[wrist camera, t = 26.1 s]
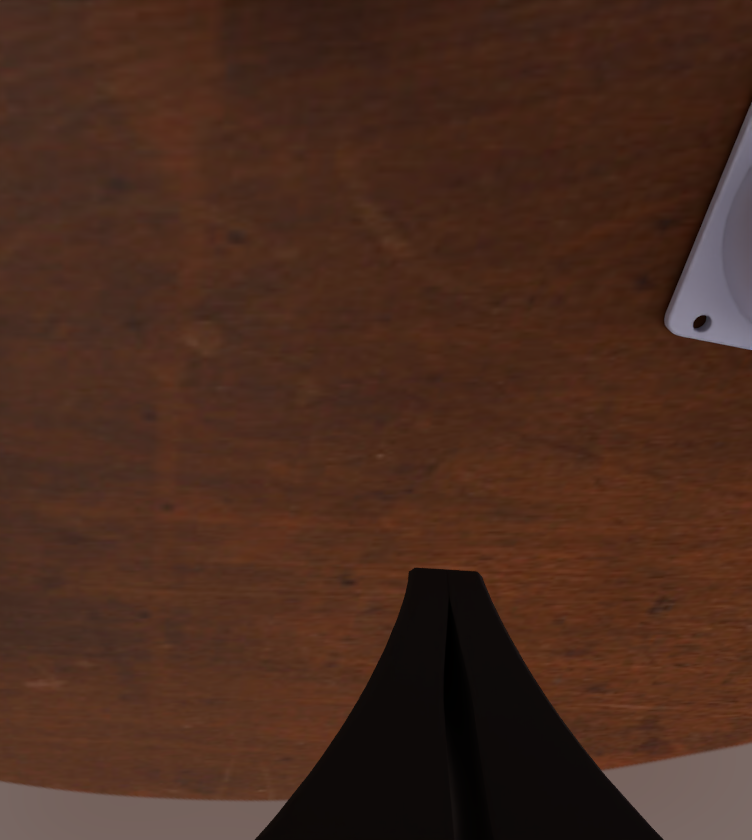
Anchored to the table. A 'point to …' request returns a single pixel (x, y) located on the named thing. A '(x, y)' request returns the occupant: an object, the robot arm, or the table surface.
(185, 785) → the table surface
